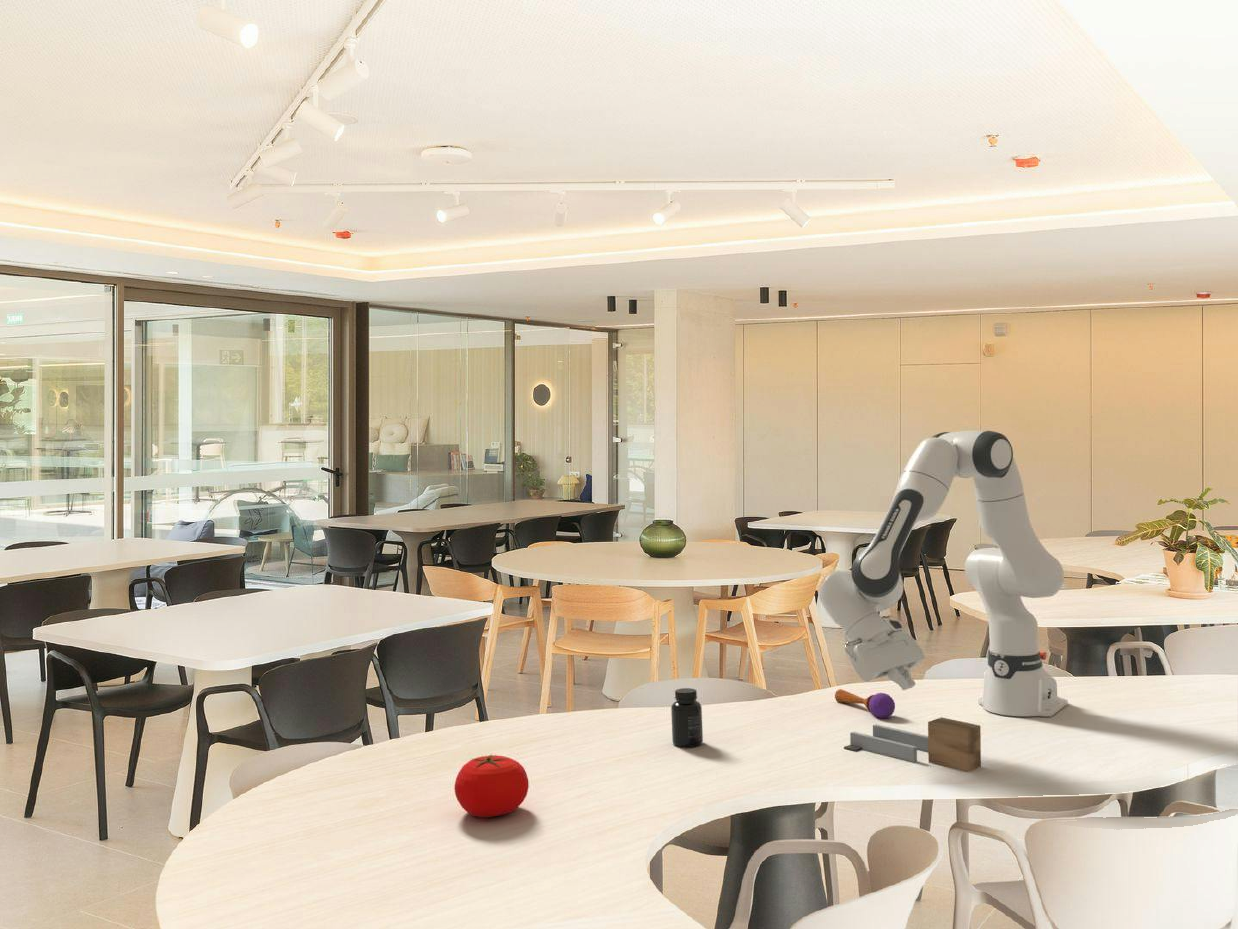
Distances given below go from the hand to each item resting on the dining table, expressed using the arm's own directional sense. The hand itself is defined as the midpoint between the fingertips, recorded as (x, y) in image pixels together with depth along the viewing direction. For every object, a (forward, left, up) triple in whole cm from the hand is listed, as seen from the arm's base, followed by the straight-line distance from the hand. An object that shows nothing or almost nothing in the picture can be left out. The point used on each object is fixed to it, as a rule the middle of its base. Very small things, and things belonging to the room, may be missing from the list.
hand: (909, 687), depth 230 cm
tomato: (+84, -34, -14) cm, 92 cm away
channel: (0, -4, -14) cm, 15 cm away
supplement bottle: (+28, -39, -14) cm, 50 cm away
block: (0, +11, -14) cm, 18 cm away
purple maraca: (-22, -28, -15) cm, 38 cm away
